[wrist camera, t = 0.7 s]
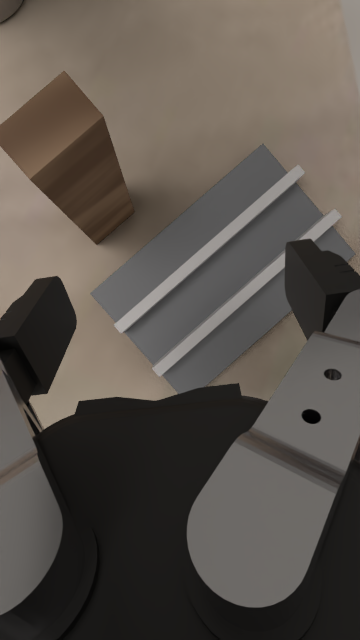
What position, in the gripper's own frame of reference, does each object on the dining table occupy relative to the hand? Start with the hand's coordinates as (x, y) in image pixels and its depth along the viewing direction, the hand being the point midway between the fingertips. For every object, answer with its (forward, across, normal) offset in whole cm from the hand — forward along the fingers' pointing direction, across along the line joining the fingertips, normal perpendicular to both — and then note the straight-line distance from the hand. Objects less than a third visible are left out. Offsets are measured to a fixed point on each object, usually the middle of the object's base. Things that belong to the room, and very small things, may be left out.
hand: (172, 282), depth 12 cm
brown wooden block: (+22, +8, +4) cm, 24 cm away
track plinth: (+20, -3, +10) cm, 22 cm away
